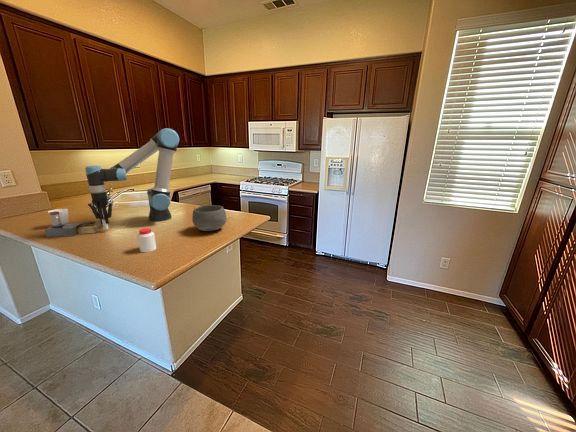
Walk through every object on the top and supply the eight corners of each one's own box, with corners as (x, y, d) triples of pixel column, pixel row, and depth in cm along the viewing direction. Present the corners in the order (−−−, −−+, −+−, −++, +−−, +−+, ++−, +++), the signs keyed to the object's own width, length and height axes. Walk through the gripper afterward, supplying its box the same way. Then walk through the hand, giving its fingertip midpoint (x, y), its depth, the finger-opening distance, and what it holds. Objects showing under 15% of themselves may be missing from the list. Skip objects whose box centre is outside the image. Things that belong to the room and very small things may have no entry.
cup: (60, 229, 152) (55, 213, 149) (48, 228, 154) (43, 212, 151) (76, 224, 162) (72, 209, 159) (64, 223, 164) (60, 208, 160)
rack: (103, 226, 159) (101, 220, 158) (96, 230, 151) (95, 224, 150) (85, 227, 157) (84, 221, 156) (78, 231, 149) (76, 225, 148)
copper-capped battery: (66, 232, 147) (60, 211, 143) (61, 235, 143) (55, 213, 139) (58, 233, 146) (52, 211, 142) (53, 235, 142) (47, 213, 138)
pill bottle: (144, 246, 130) (141, 227, 127) (159, 246, 130) (156, 227, 127) (136, 252, 122) (133, 232, 119) (152, 252, 123) (149, 232, 120)
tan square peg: (98, 231, 151) (96, 225, 149) (95, 233, 147) (93, 227, 146) (78, 232, 148) (76, 226, 147) (74, 234, 145) (72, 228, 144)
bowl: (233, 227, 161) (232, 206, 157) (211, 238, 143) (209, 214, 138) (209, 223, 169) (207, 202, 165) (186, 232, 151) (183, 209, 147)
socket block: (83, 230, 152) (82, 223, 150) (74, 236, 142) (72, 228, 141) (58, 231, 149) (56, 224, 147) (46, 237, 139) (44, 229, 138)
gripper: (113, 190, 148) (120, 226, 154) (89, 191, 145) (97, 227, 152) (107, 192, 141) (115, 230, 147) (82, 193, 138) (91, 231, 145)
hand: (106, 228), depth 149 cm, fingers closed
